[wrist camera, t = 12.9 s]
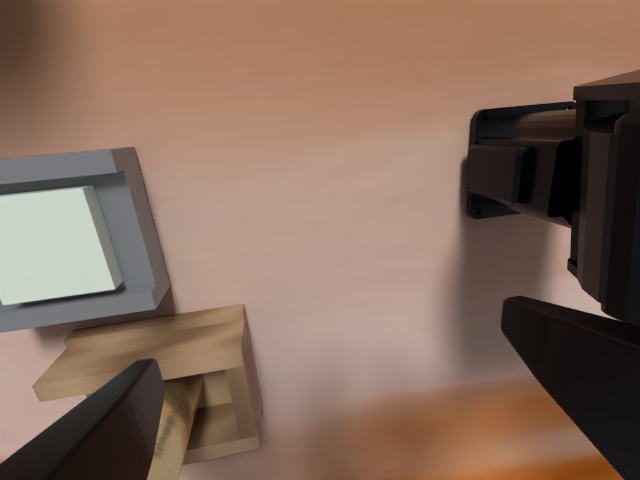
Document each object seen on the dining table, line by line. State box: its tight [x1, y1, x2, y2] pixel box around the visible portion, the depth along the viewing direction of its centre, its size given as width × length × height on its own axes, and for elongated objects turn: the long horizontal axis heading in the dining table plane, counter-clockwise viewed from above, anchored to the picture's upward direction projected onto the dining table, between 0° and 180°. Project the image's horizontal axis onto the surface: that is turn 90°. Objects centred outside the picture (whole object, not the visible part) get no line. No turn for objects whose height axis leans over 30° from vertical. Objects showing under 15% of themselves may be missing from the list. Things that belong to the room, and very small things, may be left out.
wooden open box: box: [32, 304, 262, 465], centre depth 20 cm, size 10×8×4 cm
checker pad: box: [0, 185, 123, 305], centre depth 15 cm, size 5×5×1 cm
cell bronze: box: [147, 374, 203, 480], centre depth 17 cm, size 4×4×7 cm
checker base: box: [0, 147, 170, 333], centre depth 17 cm, size 8×8×3 cm
